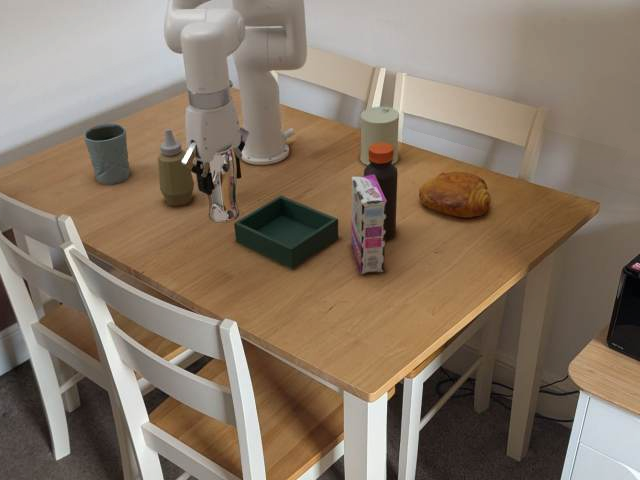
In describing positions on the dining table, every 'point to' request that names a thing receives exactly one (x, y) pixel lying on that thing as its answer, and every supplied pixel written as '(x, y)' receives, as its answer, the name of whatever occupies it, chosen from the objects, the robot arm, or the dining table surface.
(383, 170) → the vinegar
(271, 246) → the tote
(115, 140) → the grey green cup
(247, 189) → the dining table surface
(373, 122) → the can
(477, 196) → the croissant
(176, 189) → the squeeze bottle
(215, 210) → the beer glass
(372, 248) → the candy bar box
